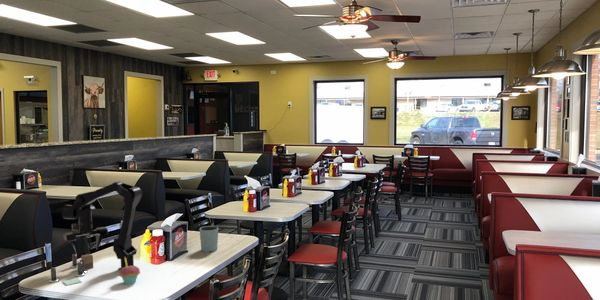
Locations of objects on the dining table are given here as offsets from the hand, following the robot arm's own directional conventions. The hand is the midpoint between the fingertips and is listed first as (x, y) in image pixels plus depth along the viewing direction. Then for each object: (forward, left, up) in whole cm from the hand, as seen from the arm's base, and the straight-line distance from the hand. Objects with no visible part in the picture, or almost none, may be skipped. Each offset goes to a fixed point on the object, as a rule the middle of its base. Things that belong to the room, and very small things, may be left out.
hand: (87, 251), depth 224 cm
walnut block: (0, 0, -8) cm, 8 cm away
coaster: (-16, +12, -8) cm, 21 cm away
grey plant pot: (-15, -58, -8) cm, 60 cm away
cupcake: (-34, -7, -8) cm, 36 cm away
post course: (-1, +11, -8) cm, 13 cm away
